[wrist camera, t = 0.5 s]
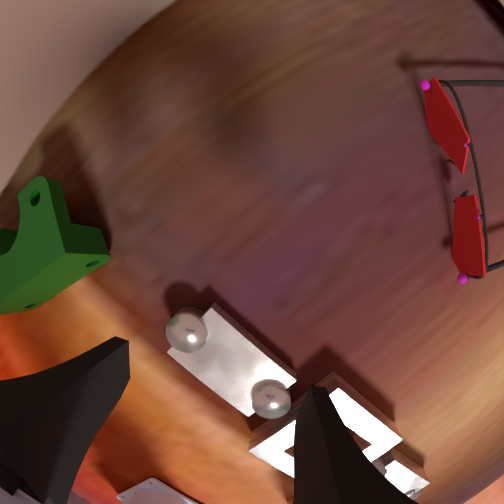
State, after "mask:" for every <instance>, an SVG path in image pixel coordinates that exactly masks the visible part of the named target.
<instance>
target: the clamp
mask: <svg viewBox="0 0 504 504" xmlns="http://www.w3.org/2000/svg"><path fill="white" fill-rule="evenodd" d="M17 198H18V201H19V206H20V223H19V229H18V230H9V229H0V315H1V314H9V313H16V312H23V311H27V310H31V309H34V308H36V307H38V306H40V305H42V304H43V303H45V302H46V301H47V300H49V299H50V298H52V297H53V296H55V295H56V294H58V293H59V292H61V291H62V290H64V289H66V288H67V287H69V286H70V285H72V284H73V283H75V282H76V281H78V280H79V279H81V278H82V277H84V276H86V275H87V274H89V273H90V272H92V271H93V270H95V269H97V268H98V267H100V266H101V265H103V264H105V263H106V262H107V261H109V260H110V258H111V257H110V254H109V251H108V248H107V245H106V243H105V240H104V237H103V234H102V231H101V229H100V228H97V227H90V226H84V225H78V224H72V223H71V220H70V217H69V213H68V209H67V205H66V201H65V197H64V193H63V189H62V186H61V184H60V183H59V182H57V181H55V180H52V179H49V178H45V177H42V176H38V177H35V178H34V179H33V180H32V181H31V182H30V183H29V184H28V185H26V186H25V187H24V188H23V189H22V190H21V192H20V193H19V194H18V195H17Z"/></svg>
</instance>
